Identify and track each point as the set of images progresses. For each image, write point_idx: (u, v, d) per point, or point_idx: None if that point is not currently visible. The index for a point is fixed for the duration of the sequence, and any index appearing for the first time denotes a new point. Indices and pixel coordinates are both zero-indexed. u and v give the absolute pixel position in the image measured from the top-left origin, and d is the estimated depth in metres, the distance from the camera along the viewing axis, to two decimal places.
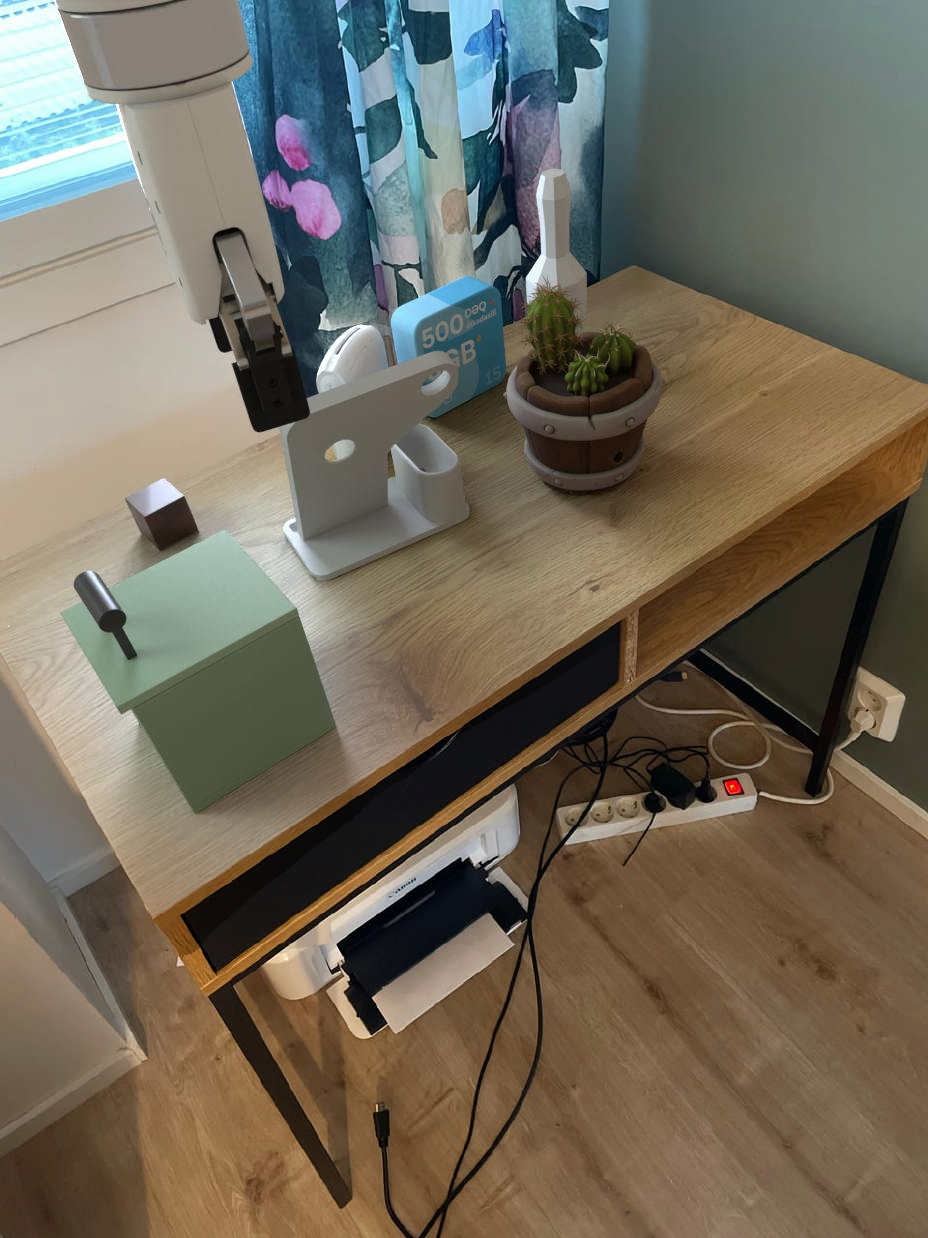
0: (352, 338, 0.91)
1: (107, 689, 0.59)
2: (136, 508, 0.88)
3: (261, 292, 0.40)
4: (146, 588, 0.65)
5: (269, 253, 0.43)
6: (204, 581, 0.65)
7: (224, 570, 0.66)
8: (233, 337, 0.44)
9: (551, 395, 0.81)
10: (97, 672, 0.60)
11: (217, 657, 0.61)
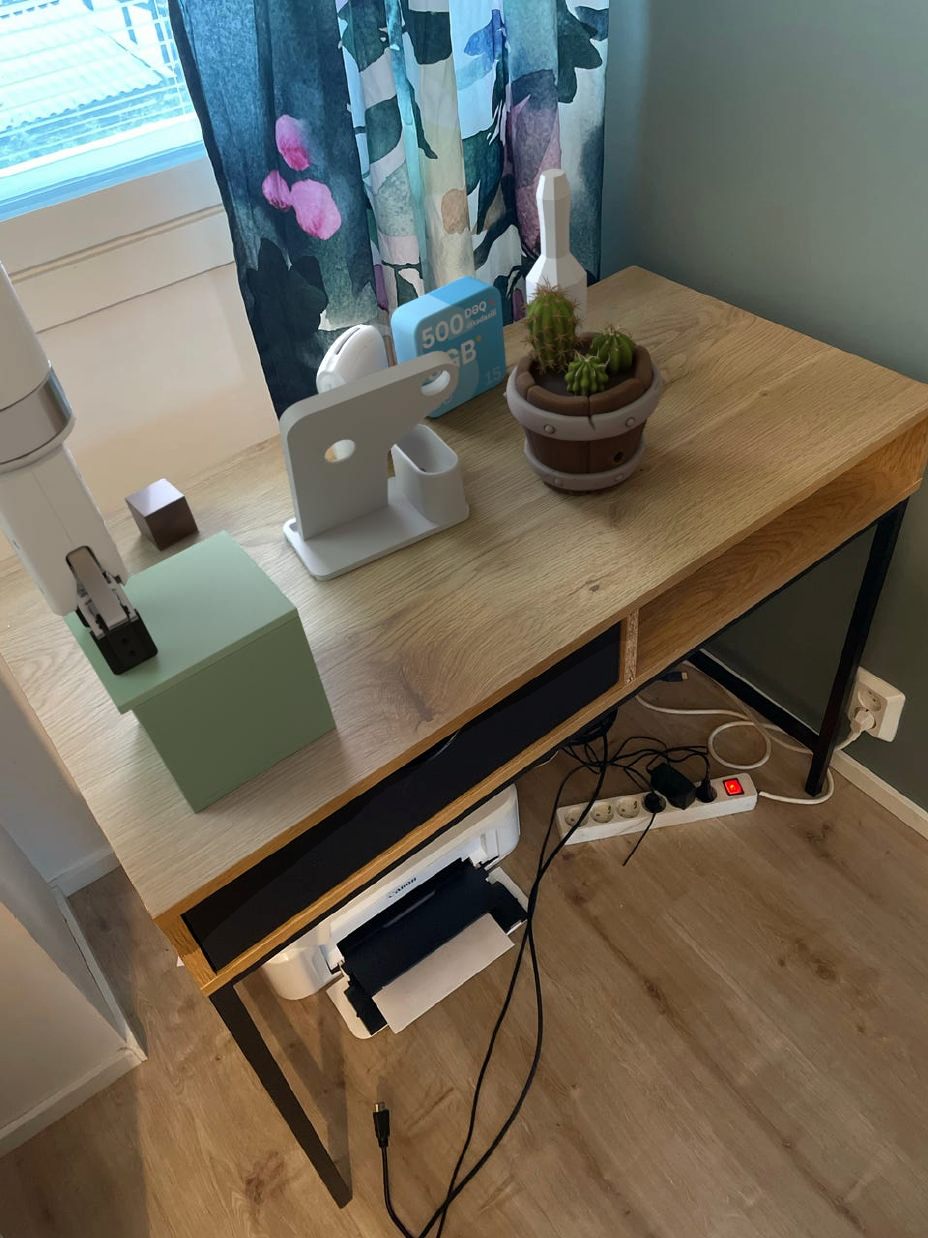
0: (352, 338, 0.91)
1: (107, 689, 0.59)
2: (136, 508, 0.88)
3: (119, 608, 0.52)
4: (146, 588, 0.65)
5: (113, 556, 0.53)
6: (204, 581, 0.65)
7: (224, 570, 0.66)
8: (91, 621, 0.55)
9: (551, 395, 0.81)
10: (97, 672, 0.60)
11: (217, 658, 0.61)
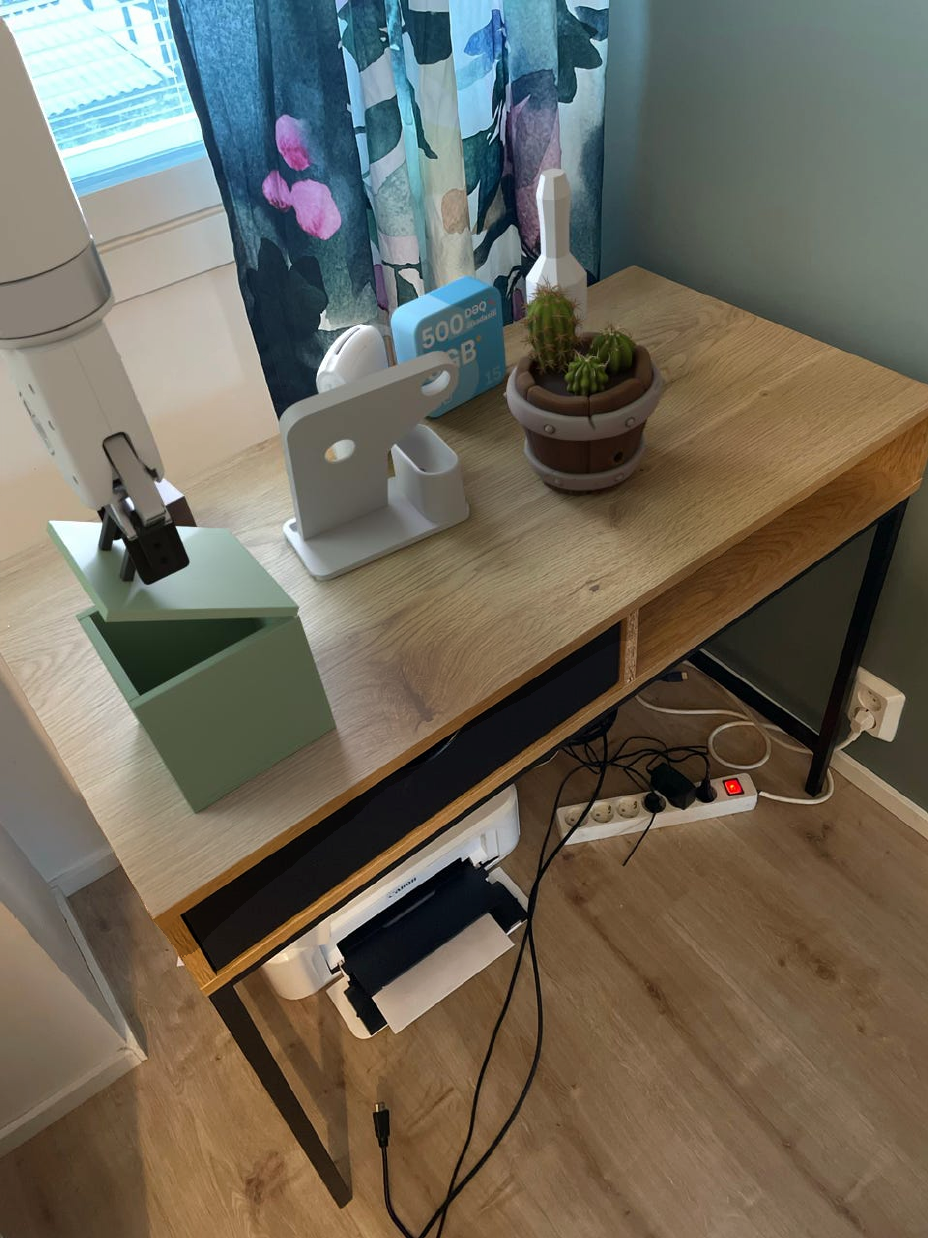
0: (352, 338, 0.91)
1: (98, 594, 0.55)
2: None
3: (157, 500, 0.50)
4: None
5: (150, 446, 0.50)
6: (206, 555, 0.64)
7: (226, 555, 0.65)
8: (124, 520, 0.53)
9: (551, 395, 0.81)
10: (87, 578, 0.56)
11: (214, 615, 0.58)
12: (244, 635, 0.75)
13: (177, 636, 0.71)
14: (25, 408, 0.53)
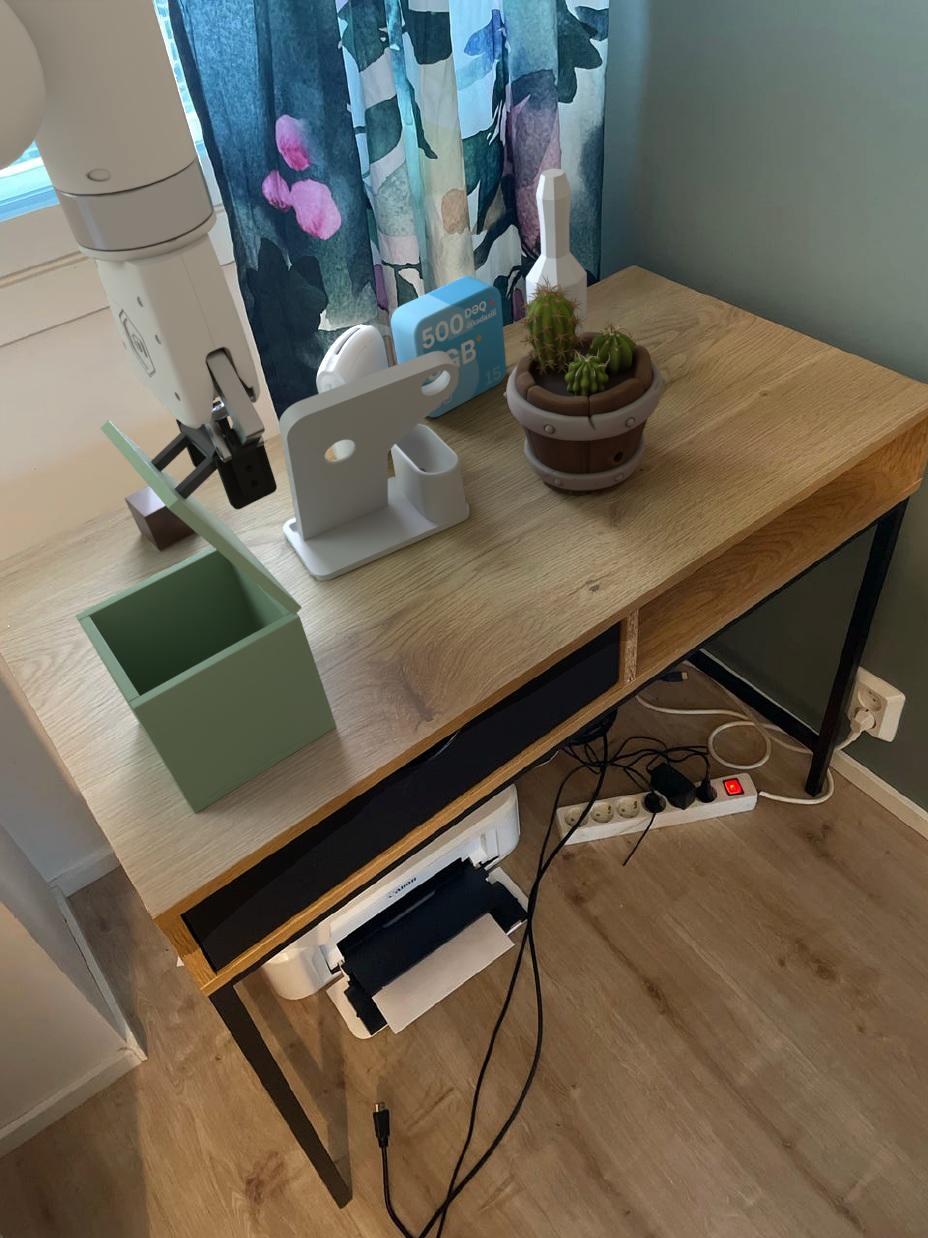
0: (352, 338, 0.91)
1: (166, 485, 0.53)
2: (136, 508, 0.88)
3: (256, 416, 0.51)
4: None
5: (249, 363, 0.51)
6: (225, 529, 0.64)
7: (238, 541, 0.65)
8: (220, 440, 0.54)
9: (551, 395, 0.81)
10: (154, 471, 0.54)
11: (243, 567, 0.58)
12: (244, 635, 0.75)
13: (177, 636, 0.71)
14: (121, 331, 0.54)
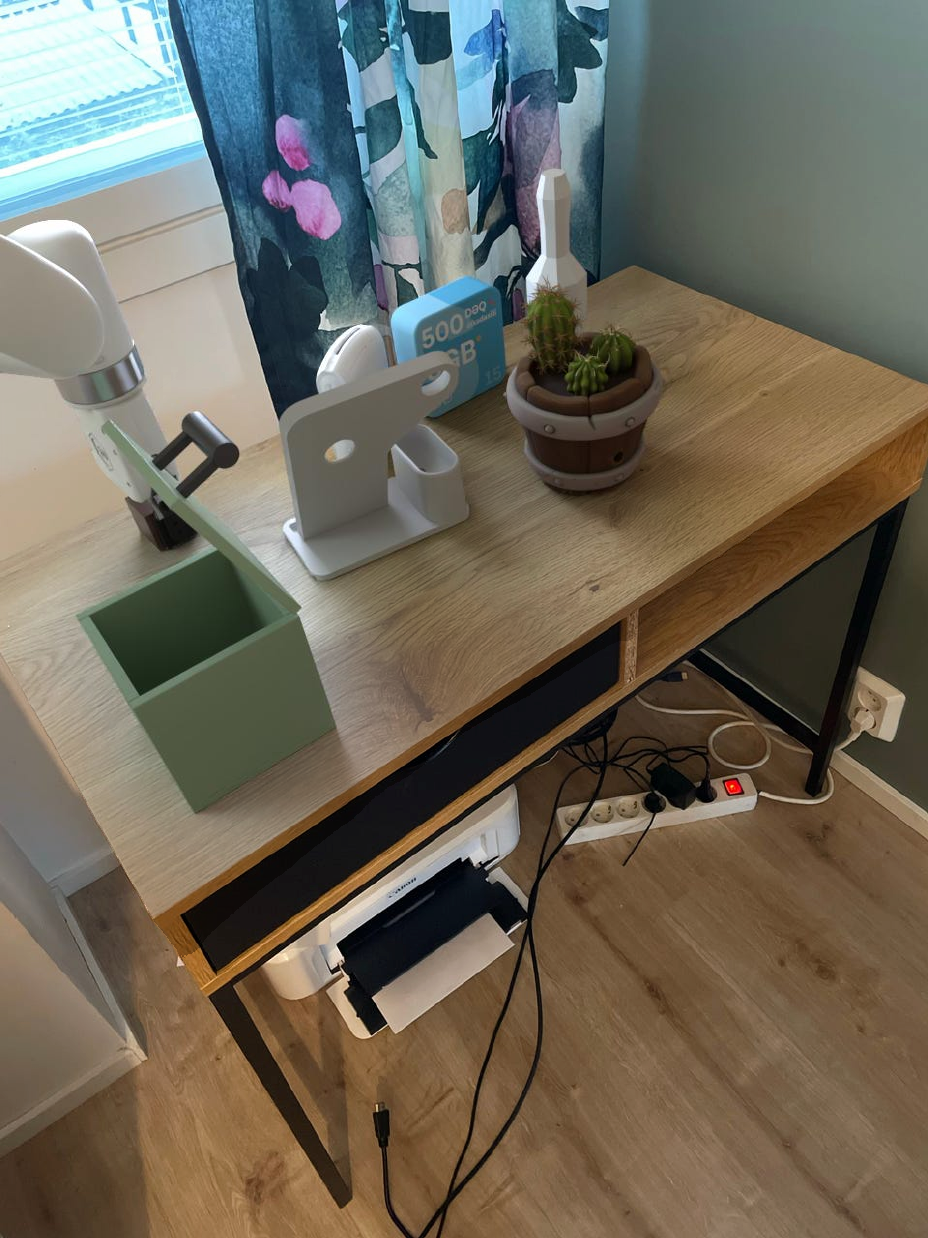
0: (352, 338, 0.91)
1: (167, 484, 0.53)
2: (136, 508, 0.88)
3: None
4: None
5: (172, 461, 0.83)
6: (225, 529, 0.64)
7: (238, 541, 0.65)
8: (156, 508, 0.86)
9: (551, 395, 0.81)
10: (155, 470, 0.54)
11: (244, 566, 0.58)
12: (244, 635, 0.75)
13: (177, 636, 0.71)
14: (89, 442, 0.85)
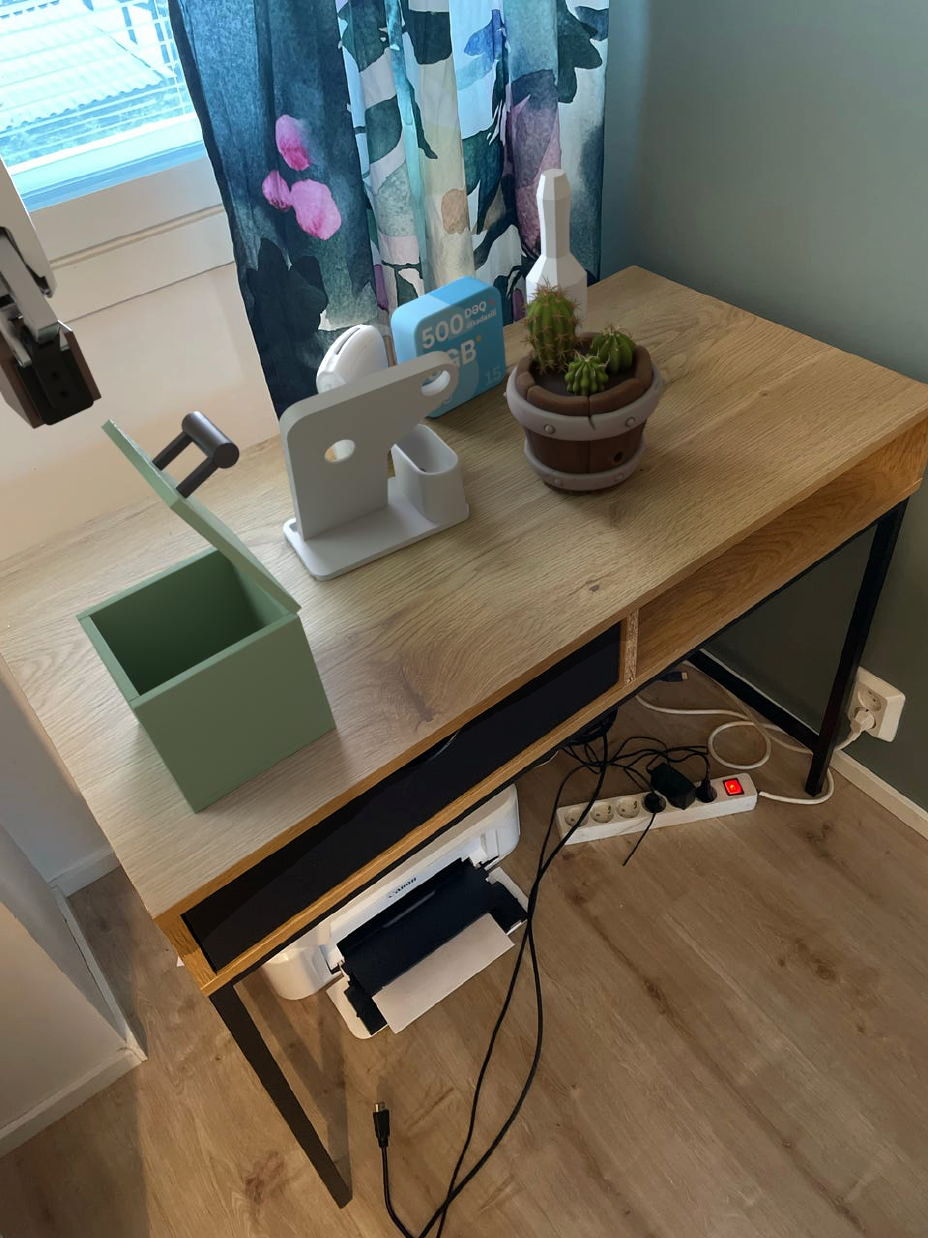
0: (352, 338, 0.91)
1: (167, 484, 0.53)
2: None
3: (48, 307, 0.46)
4: None
5: (37, 248, 0.46)
6: (225, 529, 0.64)
7: (238, 541, 0.65)
8: (15, 342, 0.49)
9: (551, 395, 0.81)
10: (155, 470, 0.54)
11: (244, 566, 0.58)
12: (244, 635, 0.75)
13: (177, 636, 0.71)
14: None
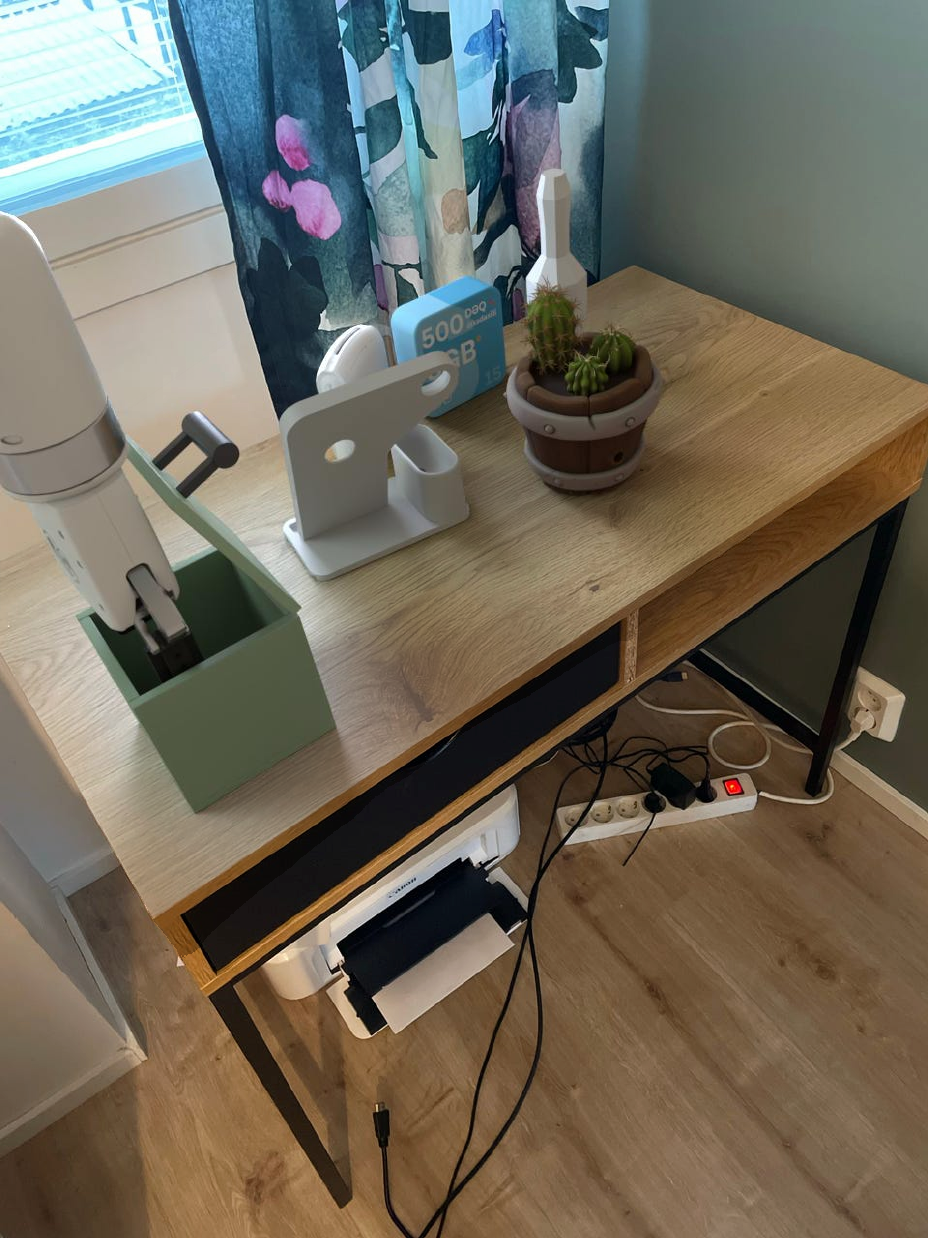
0: (352, 338, 0.91)
1: (167, 484, 0.53)
2: None
3: (177, 617, 0.55)
4: None
5: (167, 571, 0.56)
6: (225, 529, 0.64)
7: (238, 541, 0.65)
8: (147, 636, 0.58)
9: (551, 395, 0.81)
10: (155, 470, 0.54)
11: (244, 566, 0.58)
12: (244, 635, 0.75)
13: None
14: (46, 539, 0.58)
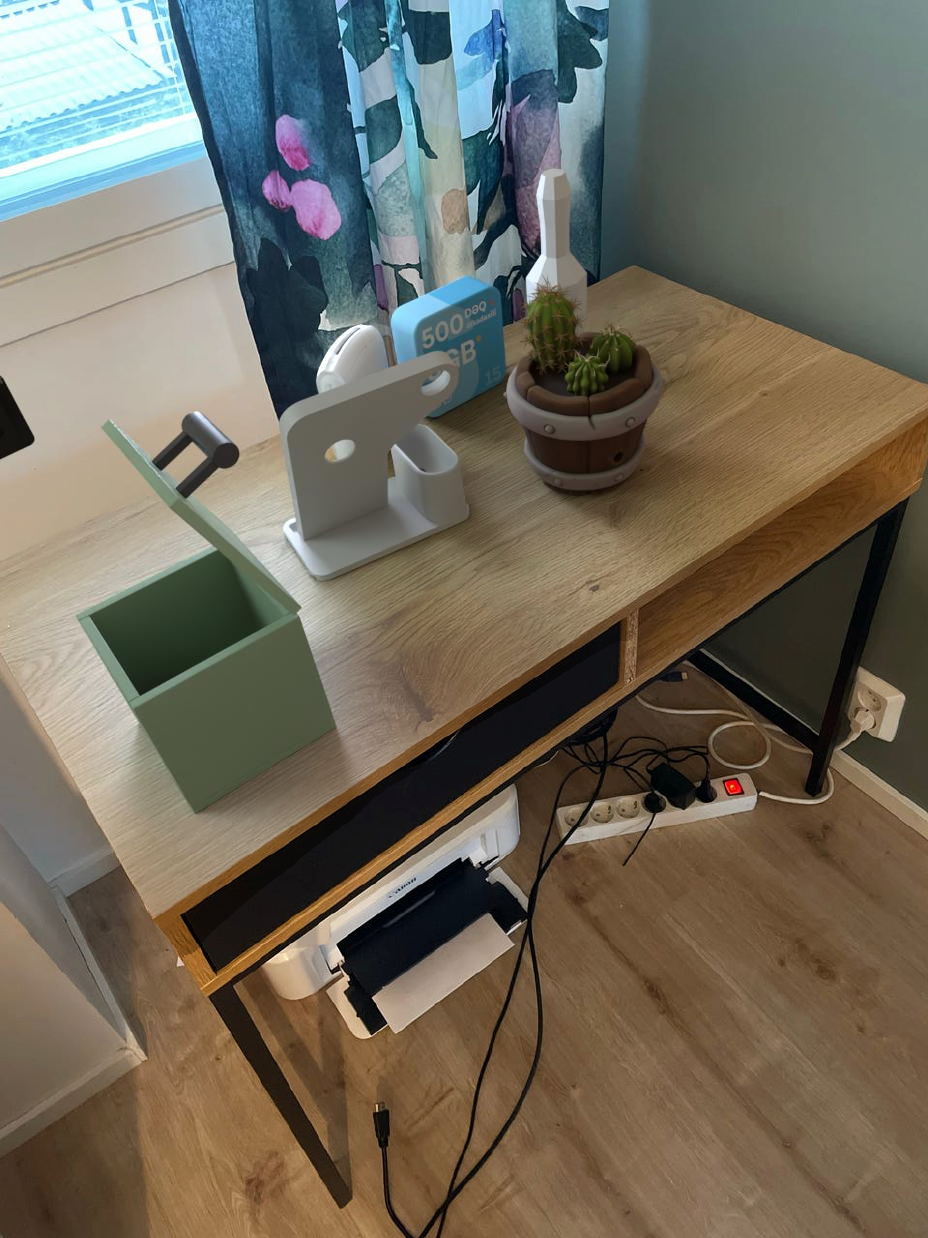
0: (352, 338, 0.91)
1: (167, 484, 0.53)
2: None
3: None
4: None
5: None
6: (225, 529, 0.64)
7: (238, 541, 0.65)
8: None
9: (551, 395, 0.81)
10: (155, 470, 0.54)
11: (244, 566, 0.58)
12: (244, 635, 0.75)
13: (177, 636, 0.71)
14: None
